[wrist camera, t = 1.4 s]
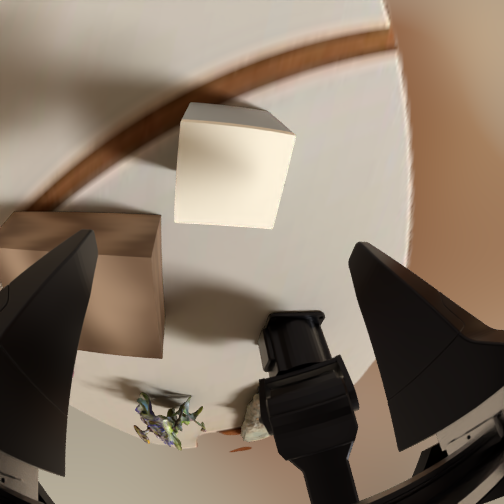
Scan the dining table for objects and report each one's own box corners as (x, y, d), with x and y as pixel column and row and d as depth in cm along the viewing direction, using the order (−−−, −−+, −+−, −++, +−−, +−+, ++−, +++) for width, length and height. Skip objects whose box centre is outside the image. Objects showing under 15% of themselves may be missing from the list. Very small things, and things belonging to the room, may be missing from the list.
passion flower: (147, 367, 43) (116, 401, 31) (207, 373, 43) (188, 415, 31) (156, 416, 44) (133, 454, 32) (211, 423, 44) (198, 467, 32)
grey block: (268, 111, 16) (296, 135, 11) (254, 178, 19) (272, 229, 14) (190, 102, 15) (180, 121, 10) (183, 172, 18) (174, 222, 13)
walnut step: (161, 215, 20) (151, 257, 16) (165, 317, 27) (162, 358, 23) (14, 211, 17) (-15, 246, 13) (47, 305, 24) (34, 341, 20)
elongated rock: (233, 429, 62) (269, 424, 64) (236, 447, 58) (274, 441, 60) (246, 384, 39) (307, 374, 41) (253, 415, 35) (316, 403, 37)
